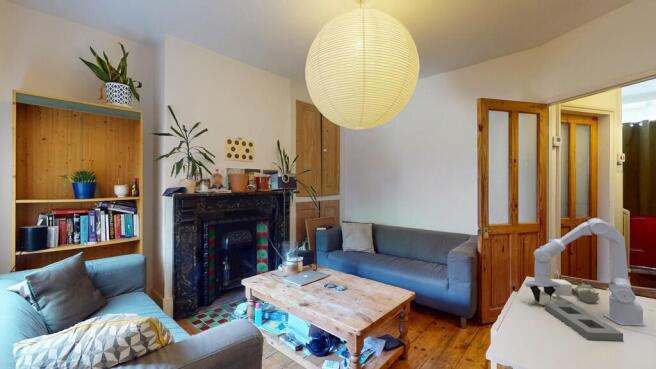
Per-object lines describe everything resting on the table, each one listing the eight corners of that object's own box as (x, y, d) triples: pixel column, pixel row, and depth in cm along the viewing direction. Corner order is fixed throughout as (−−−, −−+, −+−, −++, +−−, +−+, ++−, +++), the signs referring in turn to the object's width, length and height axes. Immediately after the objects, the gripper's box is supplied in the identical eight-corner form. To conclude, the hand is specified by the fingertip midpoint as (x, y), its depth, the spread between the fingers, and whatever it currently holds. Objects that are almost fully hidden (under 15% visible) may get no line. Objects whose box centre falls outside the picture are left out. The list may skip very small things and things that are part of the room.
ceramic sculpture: (574, 284, 133) (569, 276, 145) (574, 302, 133) (569, 292, 145) (604, 289, 127) (596, 280, 139) (604, 307, 127) (596, 297, 139)
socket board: (572, 310, 125) (572, 303, 125) (623, 341, 101) (623, 333, 101) (544, 309, 127) (544, 303, 126) (588, 340, 103) (588, 332, 103)
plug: (543, 302, 134) (542, 291, 133) (550, 307, 129) (550, 295, 128) (534, 302, 134) (534, 291, 134) (541, 306, 129) (541, 295, 129)
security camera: (572, 304, 131) (572, 284, 131) (555, 303, 132) (555, 283, 132) (563, 298, 137) (563, 279, 137) (547, 297, 138) (547, 278, 138)
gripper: (552, 271, 134) (552, 297, 134) (521, 270, 136) (521, 297, 136) (562, 276, 127) (563, 304, 127) (529, 275, 129) (530, 303, 129)
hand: (542, 301), depth 131 cm, fingers closed on plug, 4 cm apart
